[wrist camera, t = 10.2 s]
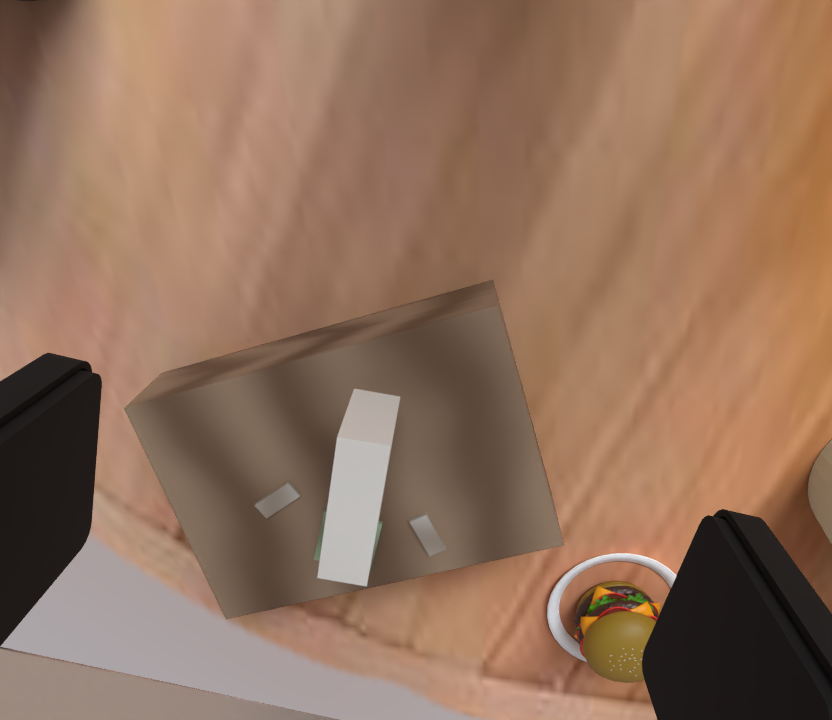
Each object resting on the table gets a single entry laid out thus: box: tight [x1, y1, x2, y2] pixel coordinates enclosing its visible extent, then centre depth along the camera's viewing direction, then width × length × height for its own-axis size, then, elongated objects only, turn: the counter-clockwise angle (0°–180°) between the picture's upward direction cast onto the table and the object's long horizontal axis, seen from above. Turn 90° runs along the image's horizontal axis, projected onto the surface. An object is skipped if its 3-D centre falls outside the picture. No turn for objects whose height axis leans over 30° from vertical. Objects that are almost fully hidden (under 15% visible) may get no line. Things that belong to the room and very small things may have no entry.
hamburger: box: [547, 553, 677, 683], centre depth 43 cm, size 12×12×6 cm
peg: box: [317, 389, 400, 587], centre depth 33 cm, size 10×2×7 cm, turn 170°
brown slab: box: [124, 280, 564, 619], centre depth 39 cm, size 20×14×5 cm
